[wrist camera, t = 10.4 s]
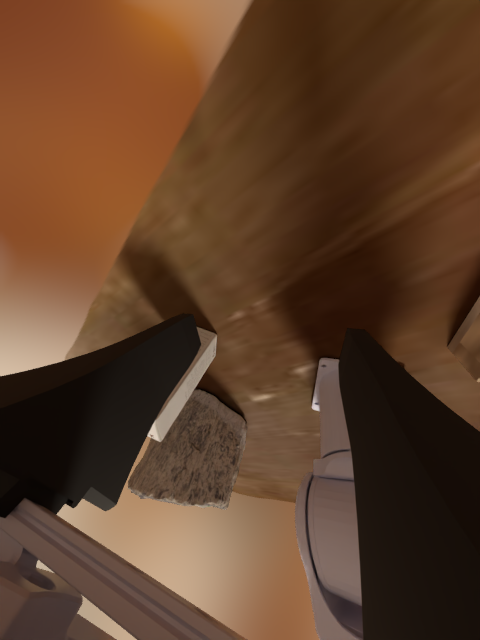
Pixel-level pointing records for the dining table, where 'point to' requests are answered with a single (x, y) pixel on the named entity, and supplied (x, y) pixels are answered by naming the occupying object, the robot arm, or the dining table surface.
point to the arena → (469, 342)
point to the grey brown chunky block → (194, 456)
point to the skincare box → (185, 385)
